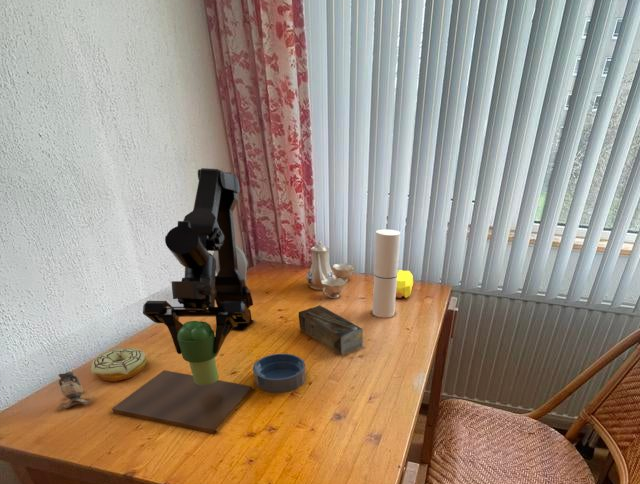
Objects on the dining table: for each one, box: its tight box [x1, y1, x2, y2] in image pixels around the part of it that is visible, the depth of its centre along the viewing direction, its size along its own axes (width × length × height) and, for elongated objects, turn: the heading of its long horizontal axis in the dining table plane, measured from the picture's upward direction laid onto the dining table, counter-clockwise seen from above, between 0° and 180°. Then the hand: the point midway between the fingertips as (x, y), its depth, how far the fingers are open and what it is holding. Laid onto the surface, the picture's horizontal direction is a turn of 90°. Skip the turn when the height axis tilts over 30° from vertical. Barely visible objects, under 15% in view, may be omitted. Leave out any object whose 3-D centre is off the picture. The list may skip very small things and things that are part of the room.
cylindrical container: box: [371, 228, 402, 319], centre depth 117 cm, size 7×7×25 cm
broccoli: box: [177, 320, 220, 385], centre depth 77 cm, size 7×7×13 cm
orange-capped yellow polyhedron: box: [396, 269, 414, 299], centre depth 139 cm, size 18×7×8 cm
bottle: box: [212, 245, 249, 286], centre depth 123 cm, size 11×11×30 cm
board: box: [111, 369, 254, 435], centre depth 80 cm, size 22×15×1 cm
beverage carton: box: [298, 305, 364, 355], centre depth 105 cm, size 8×19×7 cm, turn 45°
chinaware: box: [305, 240, 355, 299], centre depth 137 cm, size 28×17×17 cm, turn 179°
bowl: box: [252, 353, 307, 394], centre depth 88 cm, size 11×11×4 cm
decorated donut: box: [90, 347, 148, 383], centre depth 87 cm, size 10×11×4 cm
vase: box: [58, 371, 90, 411], centre depth 77 cm, size 5×5×6 cm
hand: (197, 353), depth 76 cm, fingers closed on broccoli, 6 cm apart
